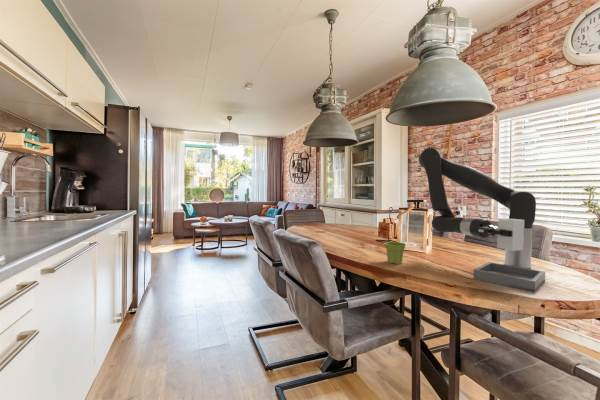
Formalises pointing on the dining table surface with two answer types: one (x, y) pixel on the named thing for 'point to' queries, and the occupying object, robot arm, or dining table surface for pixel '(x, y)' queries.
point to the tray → (510, 276)
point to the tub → (517, 234)
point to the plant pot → (395, 251)
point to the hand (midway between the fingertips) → (517, 233)
